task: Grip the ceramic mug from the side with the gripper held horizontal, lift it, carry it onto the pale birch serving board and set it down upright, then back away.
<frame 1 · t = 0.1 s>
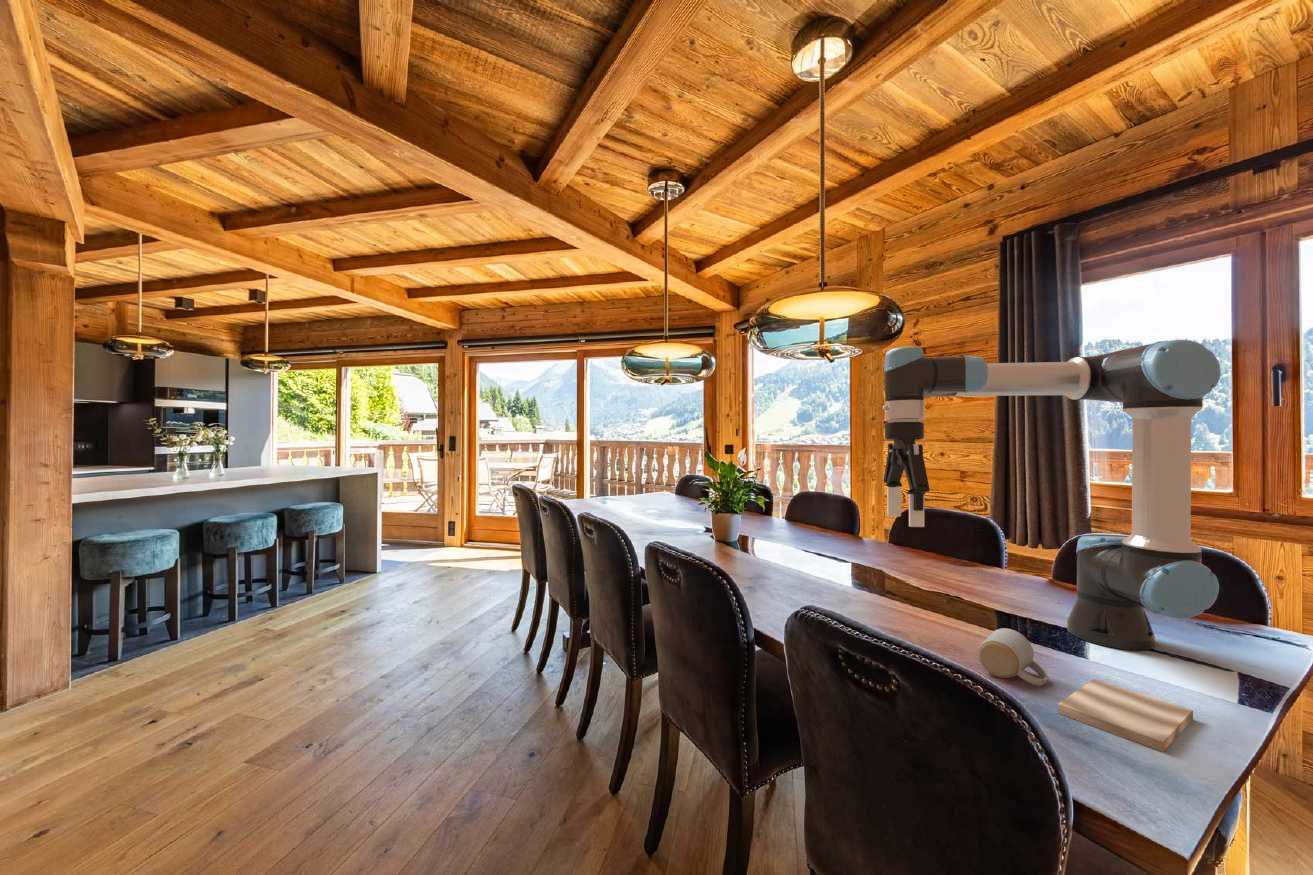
hand: (904, 521, 112), 28 cm above the table, tool pointing down, fingers open, 13 cm apart
ceramic mug: (1012, 675, 102), on the table
birch board: (1124, 715, 87), on the table
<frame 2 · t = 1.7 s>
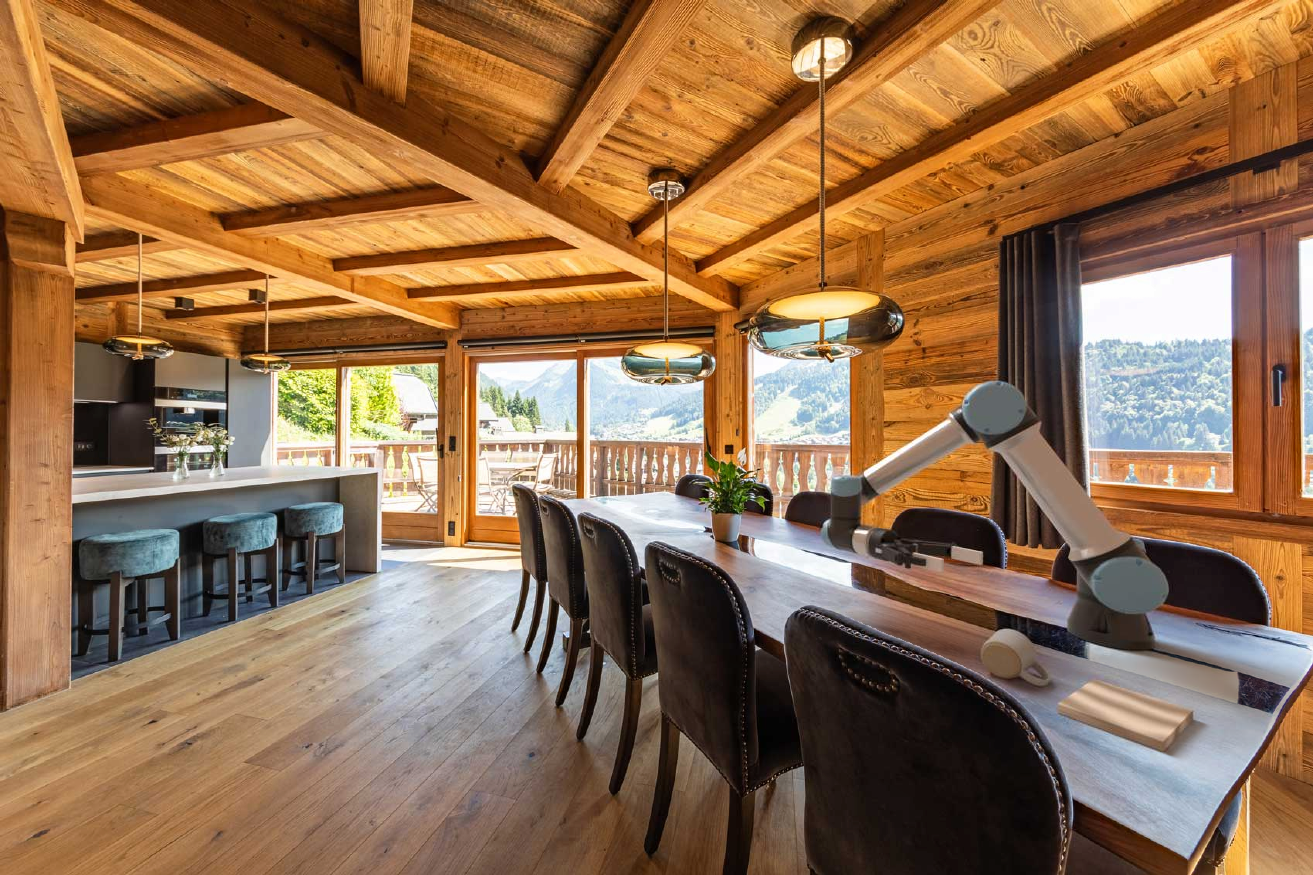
hand: (963, 562, 110), 20 cm above the table, tool horizontal, fingers open, 13 cm apart
nothing on the table moved.
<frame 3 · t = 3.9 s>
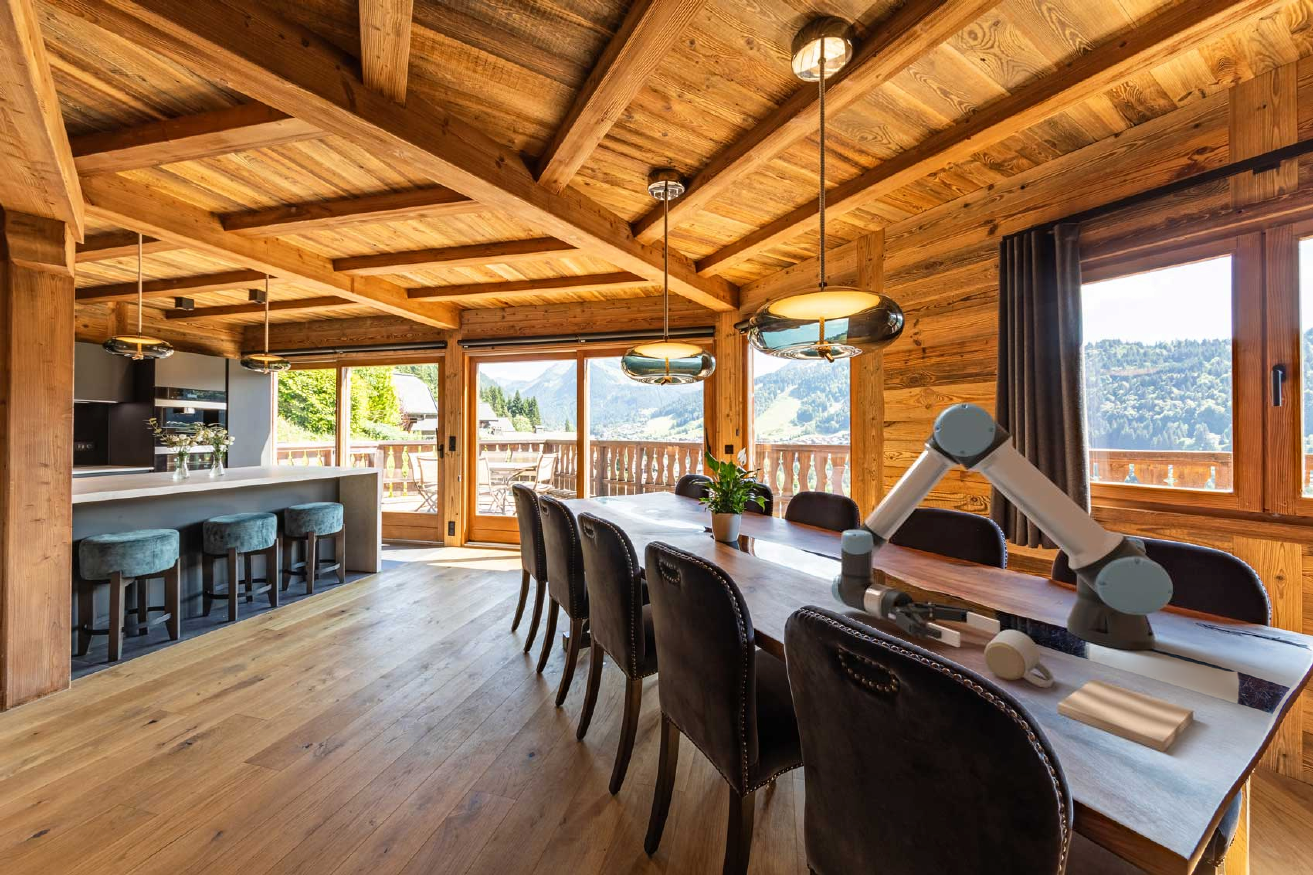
hand: (979, 633, 107), 6 cm above the table, tool horizontal, fingers open, 13 cm apart
nothing on the table moved.
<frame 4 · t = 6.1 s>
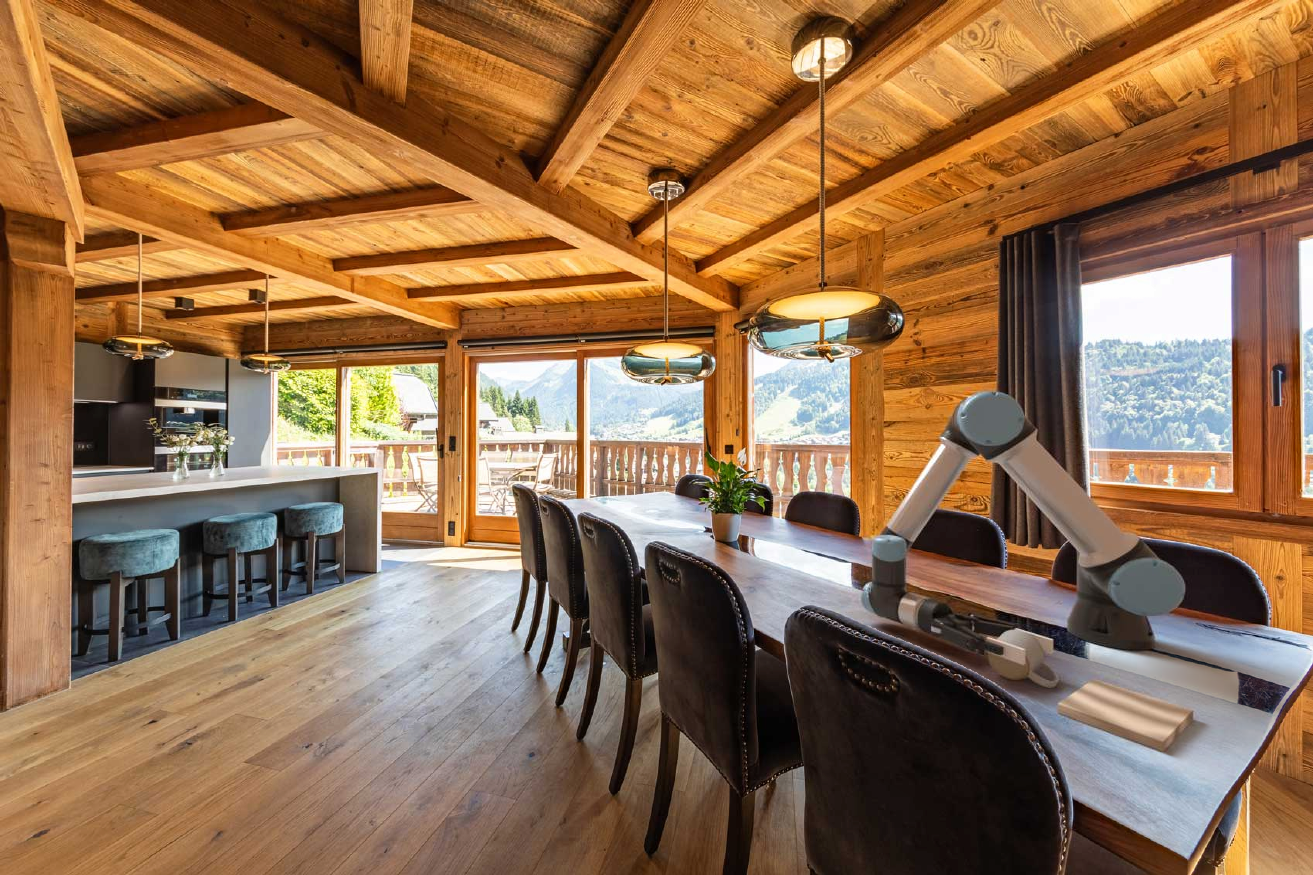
hand: (1038, 651, 98), 6 cm above the table, tool horizontal, fingers closed on ceramic mug, 9 cm apart
ceramic mug: (1023, 677, 101), on the table, touching gripper
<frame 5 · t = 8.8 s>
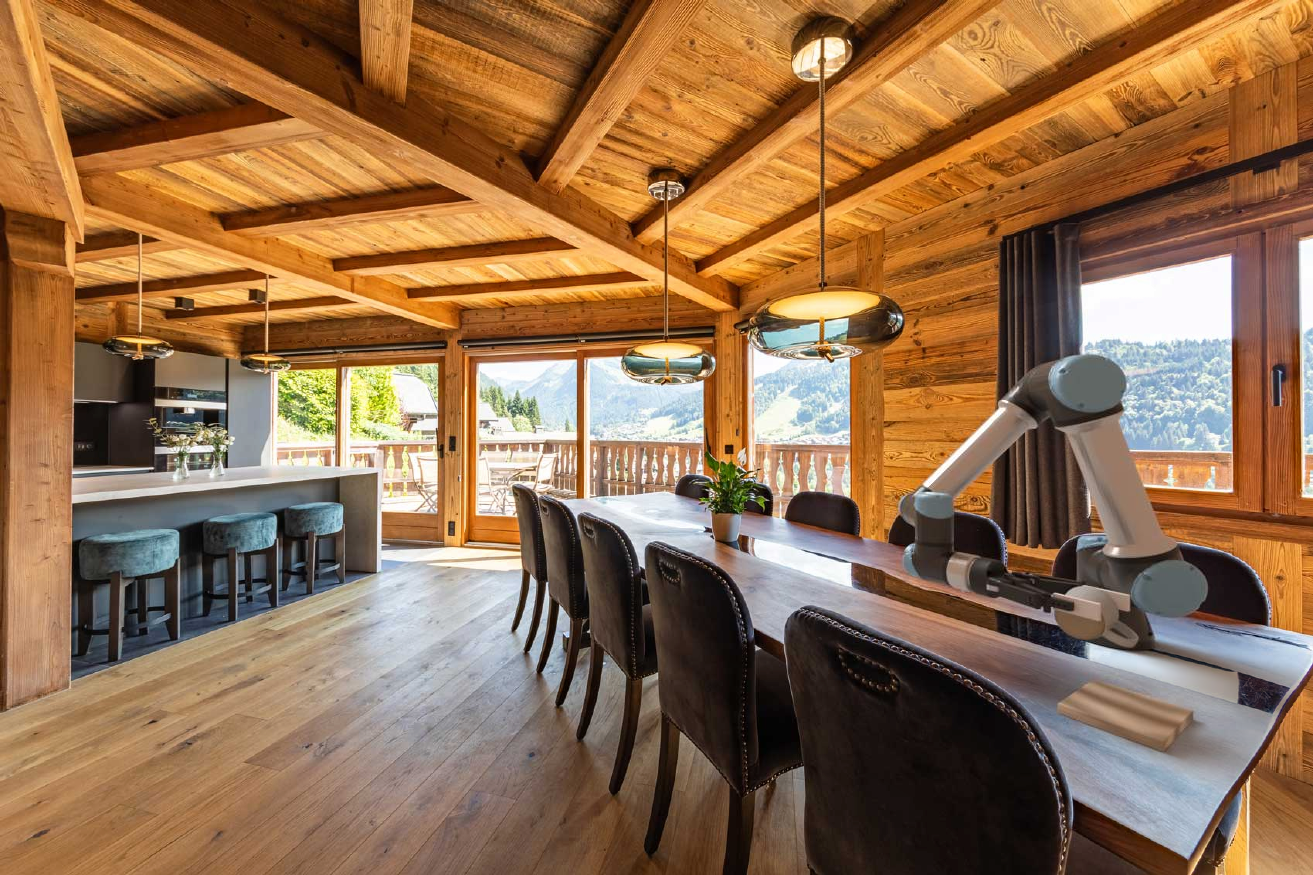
hand: (1114, 607, 87), 18 cm above the table, tool horizontal, fingers closed on ceramic mug, 9 cm apart
ceramic mug: (1095, 638, 90), point 12 cm above the table, touching gripper
when the fingers open (8 cm above the table, at t = 11.5 s): ceramic mug stays where it is, resting on birch board.
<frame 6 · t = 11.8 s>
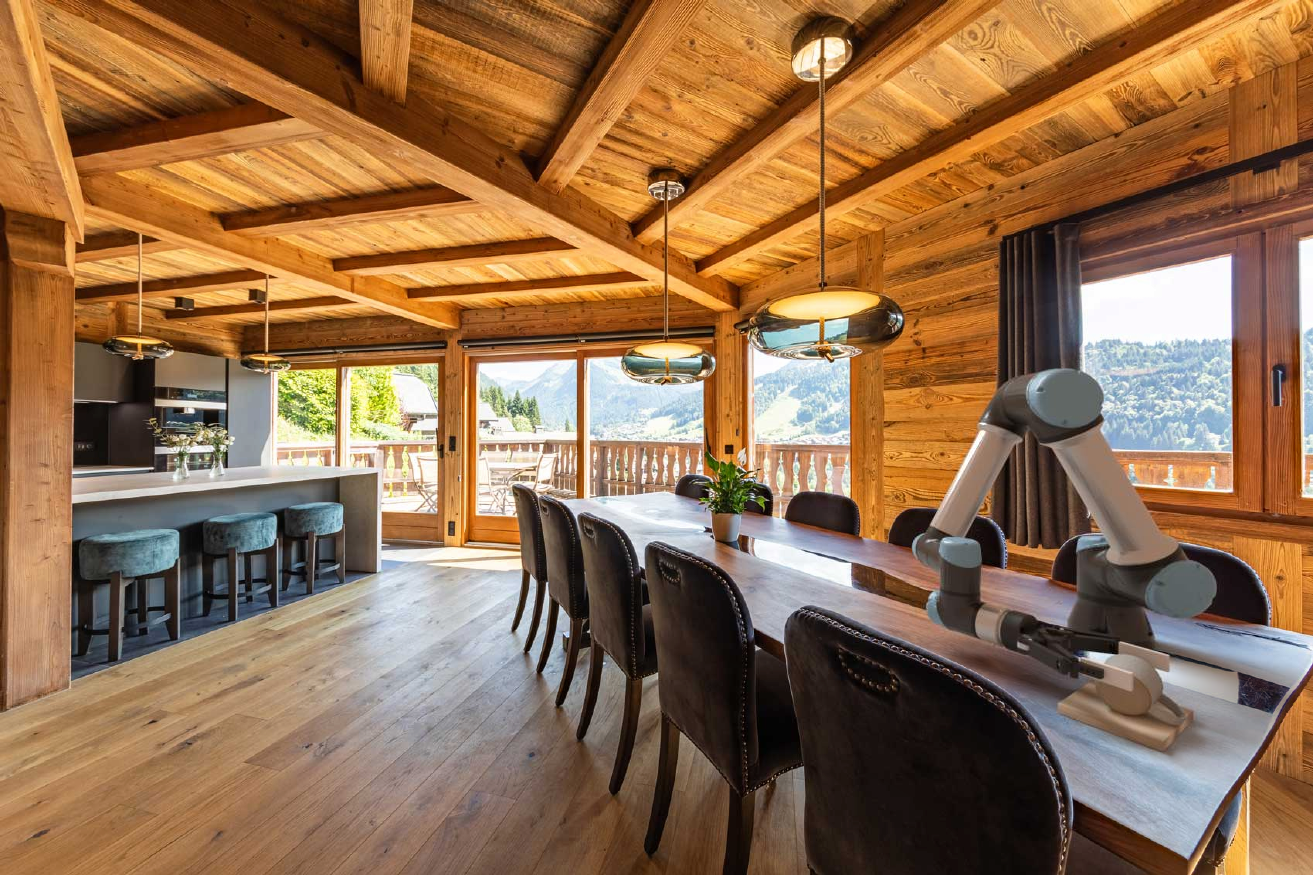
hand: (1151, 672, 84), 8 cm above the table, tool horizontal, fingers open, 13 cm apart
ceramic mug: (1138, 711, 86), point 1 cm above the table, touching birch board
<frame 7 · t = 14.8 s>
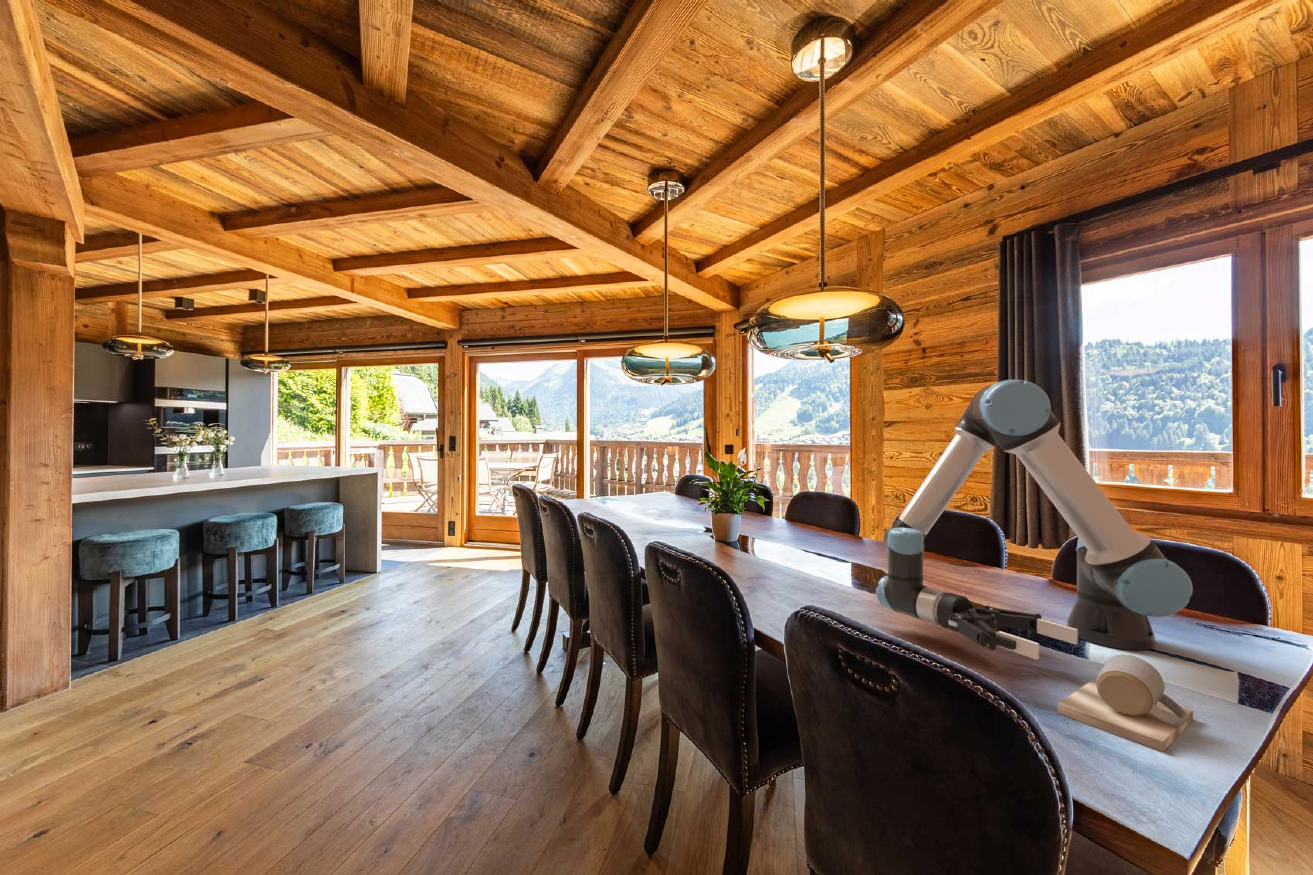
hand: (1058, 644, 95), 9 cm above the table, tool horizontal, fingers open, 13 cm apart
nothing on the table moved.
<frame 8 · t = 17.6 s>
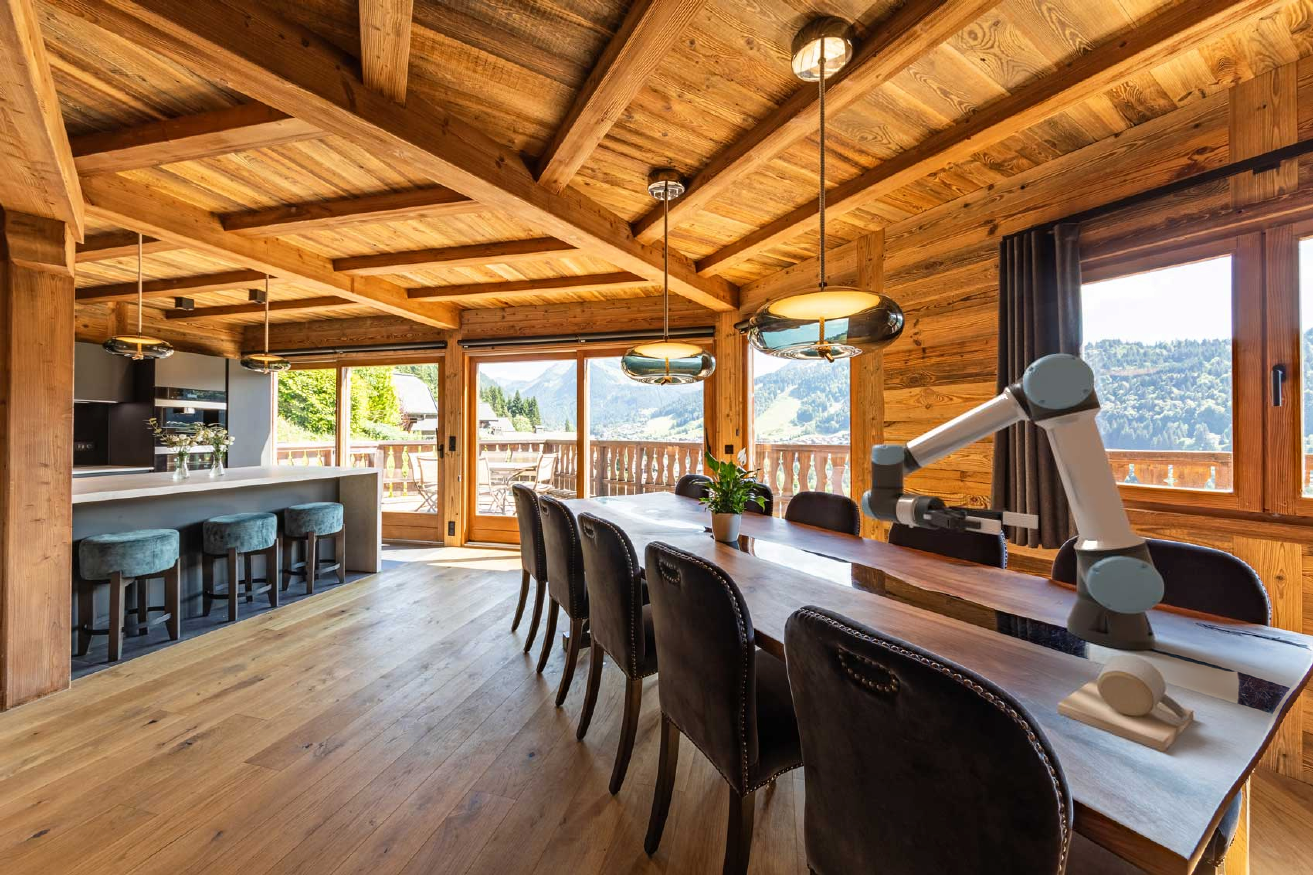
hand: (1019, 525, 107), 28 cm above the table, tool horizontal, fingers open, 13 cm apart
nothing on the table moved.
at the end: ceramic mug inside the target area on the birch board (1.9 cm from its centre), point 1.3 cm above the birch board's base; ceramic mug tilted 0°; the gripper is holding nothing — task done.
